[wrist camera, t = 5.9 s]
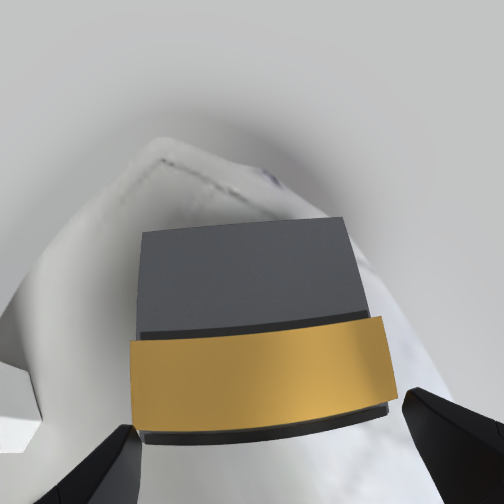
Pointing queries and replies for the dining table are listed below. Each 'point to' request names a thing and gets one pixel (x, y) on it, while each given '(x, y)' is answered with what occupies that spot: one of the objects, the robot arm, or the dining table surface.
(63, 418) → the dining table surface
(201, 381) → the key
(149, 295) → the box
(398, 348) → the dining table surface
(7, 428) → the jar
